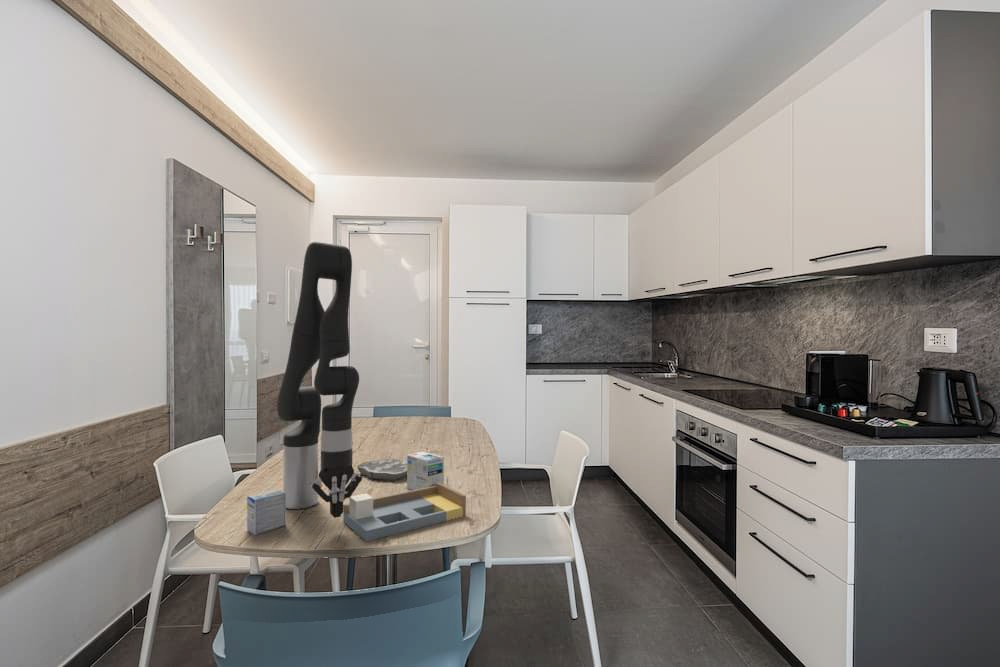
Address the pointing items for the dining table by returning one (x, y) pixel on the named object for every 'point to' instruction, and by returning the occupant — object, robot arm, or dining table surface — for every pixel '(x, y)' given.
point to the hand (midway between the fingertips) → (336, 516)
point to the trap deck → (408, 511)
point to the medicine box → (266, 511)
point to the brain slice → (384, 469)
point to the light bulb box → (424, 470)
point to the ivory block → (361, 506)
